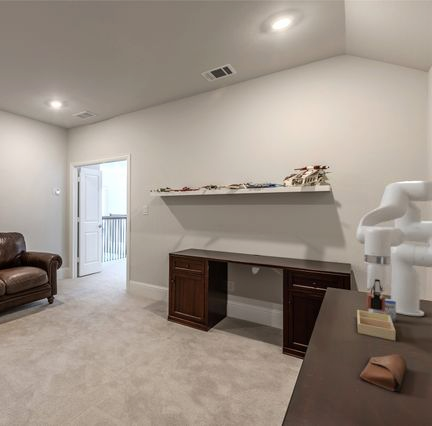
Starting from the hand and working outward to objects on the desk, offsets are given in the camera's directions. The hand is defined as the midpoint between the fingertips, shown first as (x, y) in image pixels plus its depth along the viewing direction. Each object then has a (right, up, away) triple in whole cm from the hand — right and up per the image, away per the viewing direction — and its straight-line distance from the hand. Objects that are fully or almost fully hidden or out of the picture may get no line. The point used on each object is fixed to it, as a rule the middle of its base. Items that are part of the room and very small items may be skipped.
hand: (375, 306), depth 115 cm
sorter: (+3, -10, +4) cm, 11 cm away
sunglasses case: (-23, -10, -29) cm, 39 cm away
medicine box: (+15, -10, +15) cm, 24 cm away
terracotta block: (0, -1, 0) cm, 1 cm away
